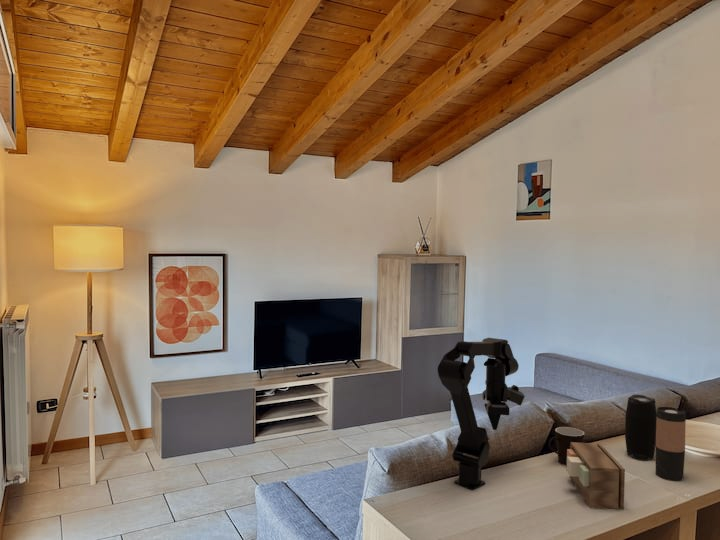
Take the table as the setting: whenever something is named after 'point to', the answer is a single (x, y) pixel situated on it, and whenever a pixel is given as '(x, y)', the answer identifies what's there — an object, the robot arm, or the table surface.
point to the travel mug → (670, 443)
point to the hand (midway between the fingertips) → (494, 429)
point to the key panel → (600, 477)
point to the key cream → (574, 465)
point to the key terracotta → (571, 453)
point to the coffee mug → (565, 441)
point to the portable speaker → (640, 427)
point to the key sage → (584, 475)
